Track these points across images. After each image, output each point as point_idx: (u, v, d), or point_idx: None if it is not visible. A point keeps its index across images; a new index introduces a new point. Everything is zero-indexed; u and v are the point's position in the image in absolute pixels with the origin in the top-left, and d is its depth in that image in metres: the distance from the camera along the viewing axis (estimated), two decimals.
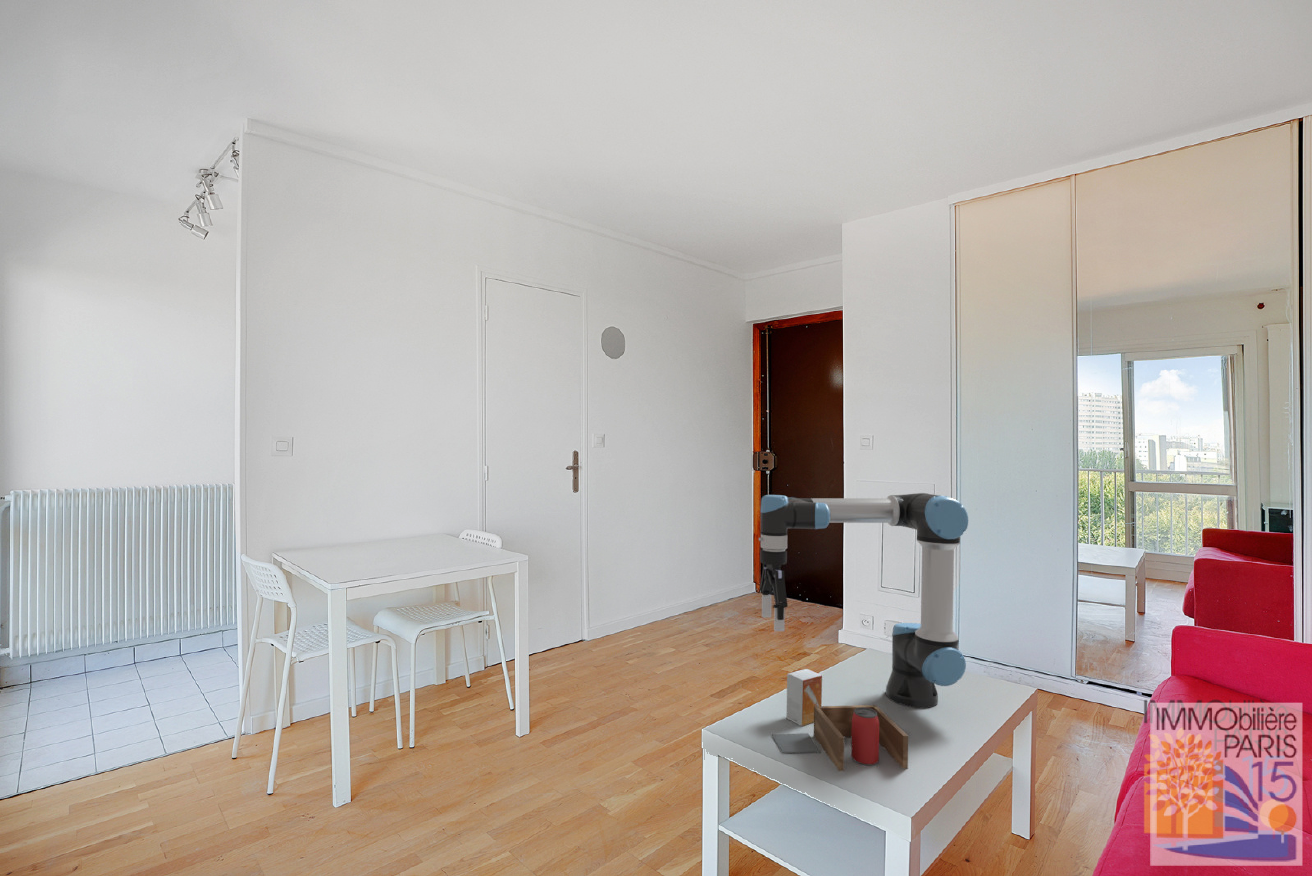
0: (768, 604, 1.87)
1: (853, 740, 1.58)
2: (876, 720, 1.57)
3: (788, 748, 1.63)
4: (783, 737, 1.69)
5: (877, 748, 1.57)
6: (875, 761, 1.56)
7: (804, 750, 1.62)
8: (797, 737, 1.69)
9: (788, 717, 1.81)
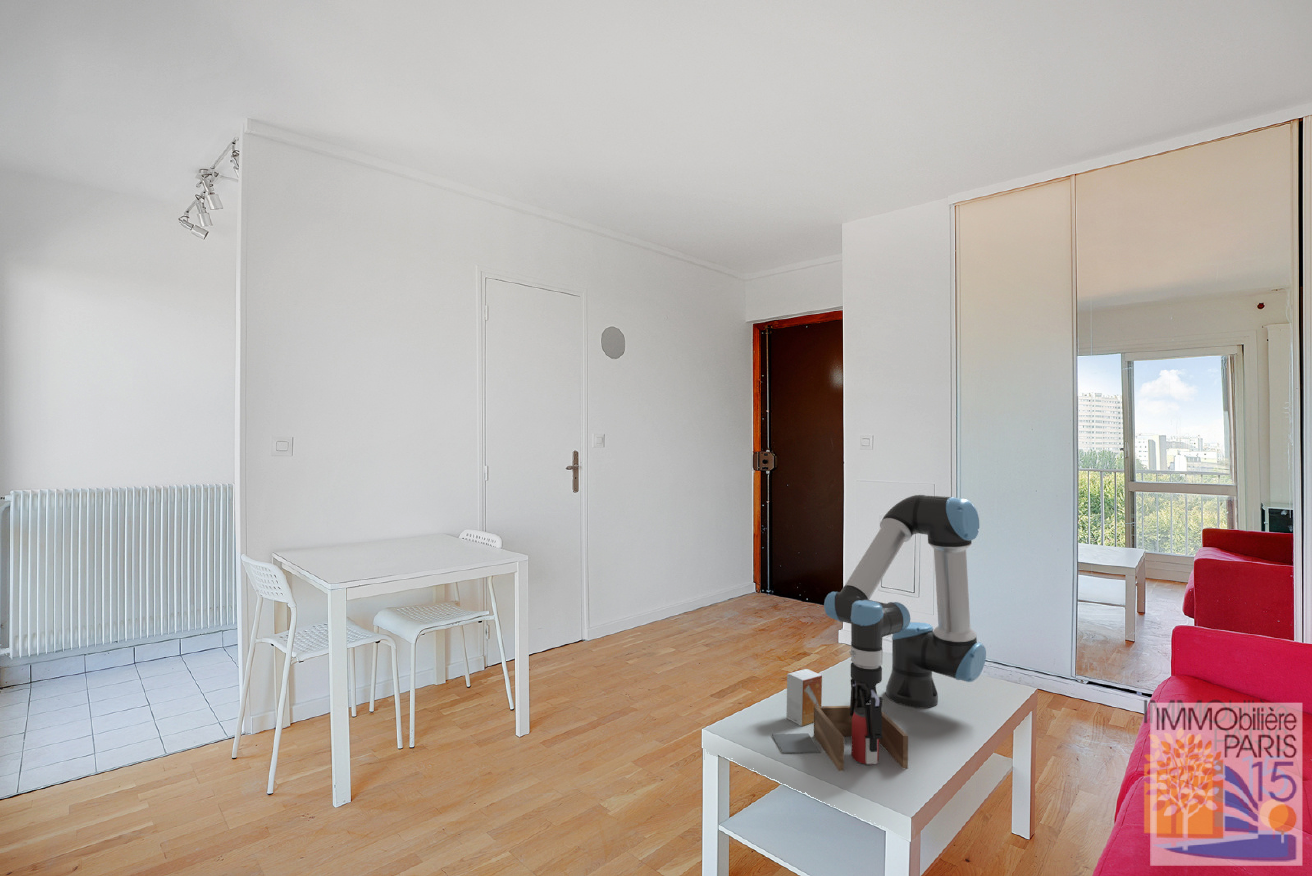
0: None
1: (853, 740, 1.58)
2: None
3: (788, 748, 1.63)
4: (783, 737, 1.69)
5: (877, 748, 1.57)
6: None
7: (804, 750, 1.62)
8: (797, 737, 1.69)
9: (788, 717, 1.81)
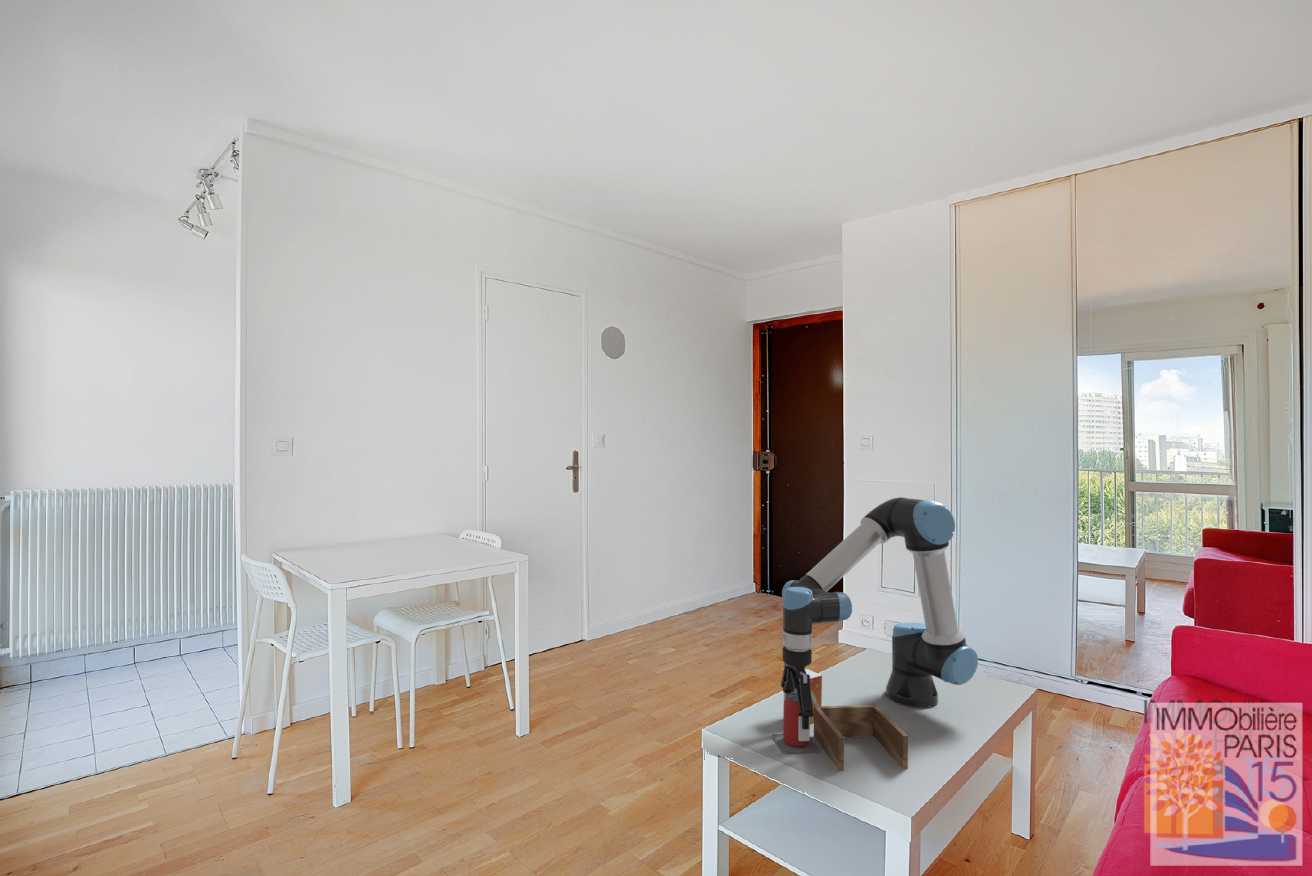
0: None
1: (784, 724, 1.66)
2: None
3: (788, 748, 1.63)
4: None
5: None
6: (804, 743, 1.64)
7: (804, 750, 1.62)
8: None
9: None
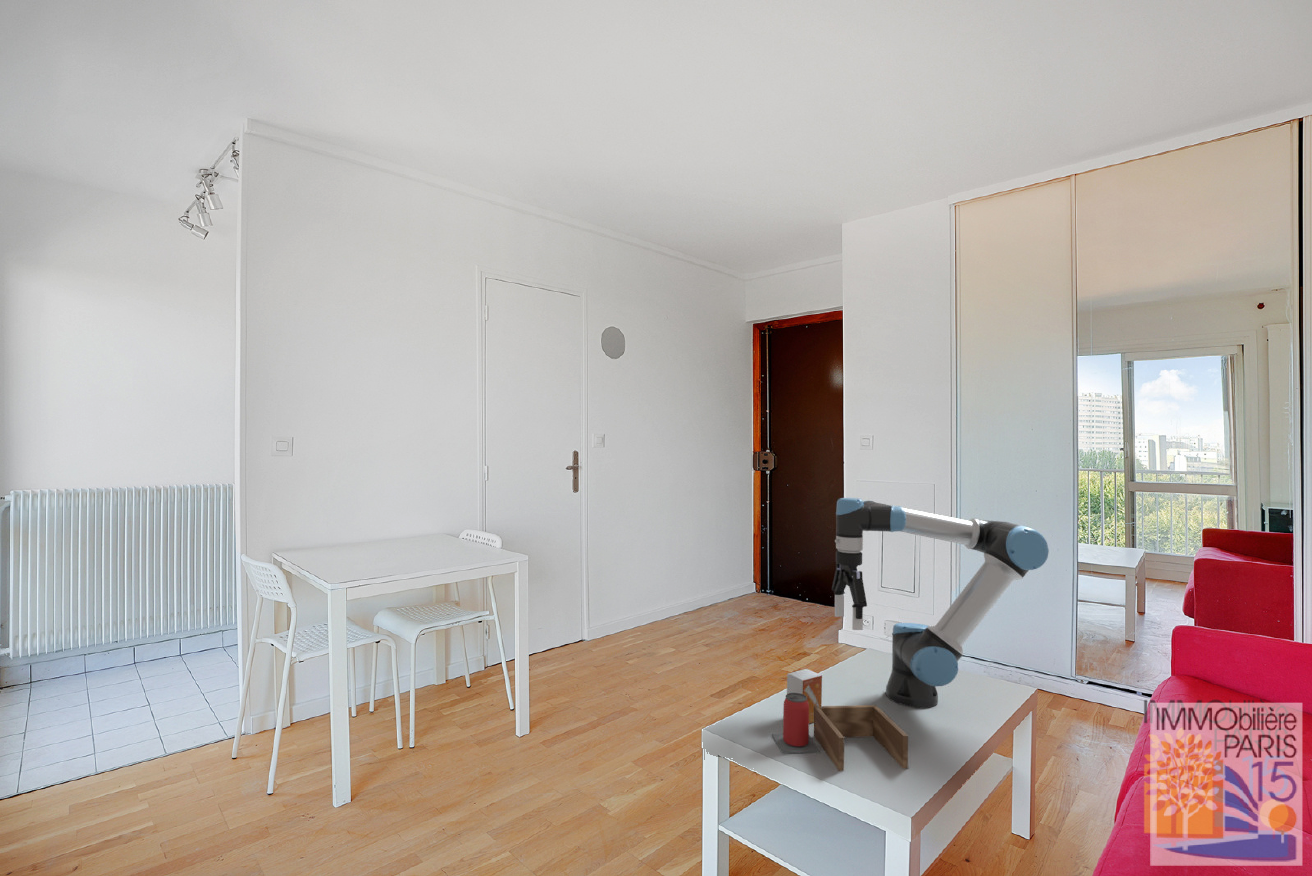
0: (841, 604, 1.93)
1: (784, 724, 1.66)
2: (805, 704, 1.65)
3: (788, 748, 1.63)
4: None
5: (806, 731, 1.65)
6: (804, 743, 1.64)
7: (804, 750, 1.62)
8: None
9: None
